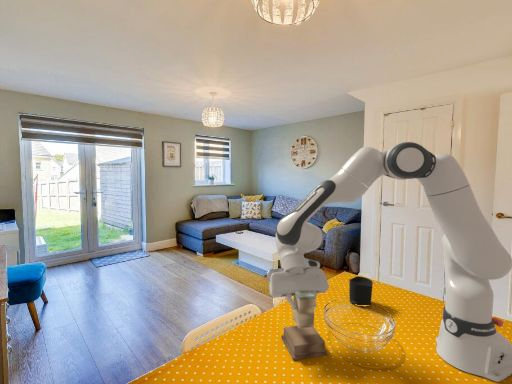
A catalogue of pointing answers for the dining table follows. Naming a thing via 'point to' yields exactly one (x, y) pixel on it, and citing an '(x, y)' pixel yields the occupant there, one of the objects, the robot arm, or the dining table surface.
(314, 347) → the plinth
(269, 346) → the dining table surface
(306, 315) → the grey rectangular block
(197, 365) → the dining table surface
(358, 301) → the pen holder
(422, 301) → the dining table surface
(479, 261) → the robot arm
